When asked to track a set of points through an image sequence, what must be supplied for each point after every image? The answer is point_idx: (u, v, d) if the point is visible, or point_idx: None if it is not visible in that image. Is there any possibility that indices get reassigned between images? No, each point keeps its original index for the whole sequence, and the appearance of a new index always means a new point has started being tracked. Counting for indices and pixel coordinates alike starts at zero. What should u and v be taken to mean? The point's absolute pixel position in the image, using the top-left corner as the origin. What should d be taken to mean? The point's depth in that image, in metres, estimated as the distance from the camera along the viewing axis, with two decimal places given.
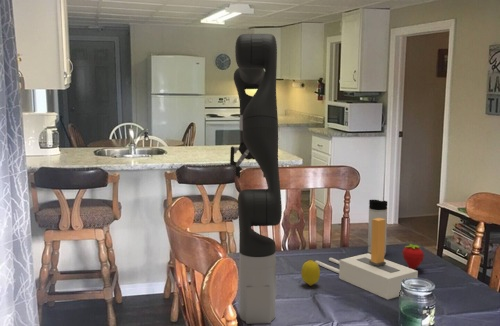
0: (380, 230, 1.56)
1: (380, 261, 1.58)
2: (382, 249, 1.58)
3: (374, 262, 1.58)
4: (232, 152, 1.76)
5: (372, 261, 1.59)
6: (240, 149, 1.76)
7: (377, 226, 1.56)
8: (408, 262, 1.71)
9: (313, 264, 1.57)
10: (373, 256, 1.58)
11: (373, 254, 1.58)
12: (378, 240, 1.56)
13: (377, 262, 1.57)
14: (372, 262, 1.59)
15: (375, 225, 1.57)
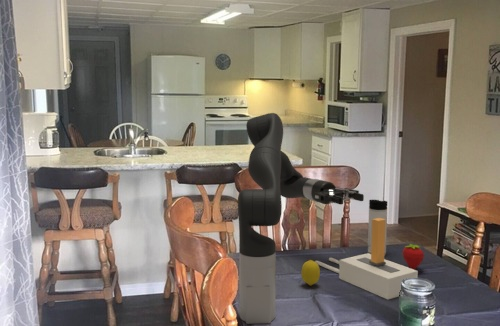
0: (380, 230, 1.56)
1: (380, 261, 1.58)
2: (382, 249, 1.58)
3: (374, 262, 1.58)
4: (319, 193, 1.70)
5: (372, 261, 1.59)
6: (323, 192, 1.72)
7: (377, 226, 1.56)
8: (408, 262, 1.71)
9: (313, 264, 1.57)
10: (373, 256, 1.58)
11: (373, 254, 1.58)
12: (378, 240, 1.56)
13: (377, 262, 1.57)
14: (372, 262, 1.59)
15: (375, 225, 1.57)
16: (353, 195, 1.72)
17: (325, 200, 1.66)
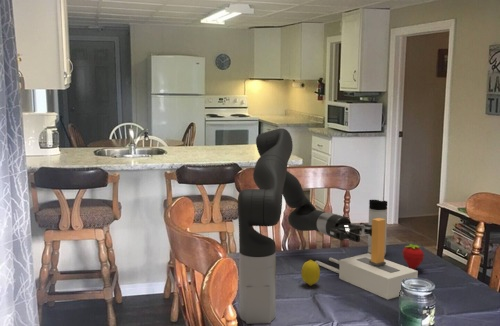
0: (380, 230, 1.56)
1: (380, 261, 1.58)
2: (382, 249, 1.58)
3: (374, 262, 1.58)
4: (334, 229, 1.65)
5: (372, 261, 1.59)
6: (339, 228, 1.67)
7: (377, 226, 1.56)
8: (408, 262, 1.71)
9: (313, 264, 1.57)
10: (373, 256, 1.58)
11: (373, 254, 1.58)
12: (378, 240, 1.56)
13: (377, 262, 1.57)
14: (372, 262, 1.59)
15: (375, 225, 1.57)
16: (369, 231, 1.66)
17: (341, 237, 1.61)
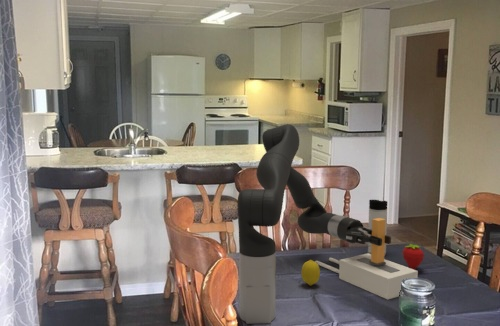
0: (380, 230, 1.56)
1: (380, 261, 1.58)
2: (382, 249, 1.58)
3: (374, 262, 1.58)
4: (352, 233, 1.60)
5: (372, 261, 1.59)
6: (352, 231, 1.62)
7: (377, 226, 1.56)
8: (408, 262, 1.71)
9: (313, 264, 1.57)
10: (373, 256, 1.58)
11: (373, 254, 1.58)
12: None
13: (377, 262, 1.57)
14: (372, 262, 1.59)
15: (375, 225, 1.57)
16: None
17: (363, 241, 1.57)
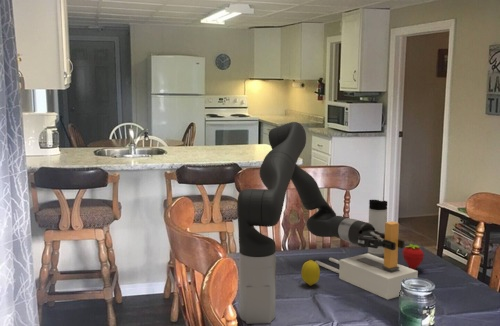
0: (393, 233, 1.52)
1: (393, 266, 1.54)
2: (396, 253, 1.54)
3: (387, 267, 1.54)
4: (364, 237, 1.55)
5: (385, 266, 1.54)
6: (364, 235, 1.58)
7: (390, 230, 1.52)
8: (408, 262, 1.71)
9: (313, 264, 1.57)
10: (386, 261, 1.54)
11: (385, 259, 1.54)
12: None
13: (390, 267, 1.53)
14: (384, 267, 1.54)
15: (388, 229, 1.52)
16: None
17: (376, 245, 1.53)
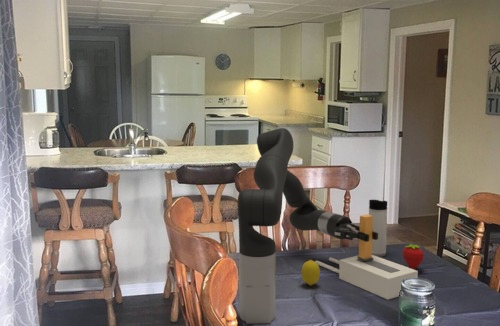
0: (368, 226, 1.61)
1: (368, 256, 1.62)
2: (370, 245, 1.62)
3: (362, 258, 1.62)
4: (340, 230, 1.64)
5: (360, 257, 1.63)
6: (340, 228, 1.67)
7: (365, 222, 1.60)
8: (408, 262, 1.71)
9: (313, 264, 1.57)
10: (361, 252, 1.62)
11: (360, 250, 1.63)
12: None
13: (365, 257, 1.62)
14: (359, 258, 1.63)
15: (363, 221, 1.61)
16: None
17: (351, 237, 1.62)
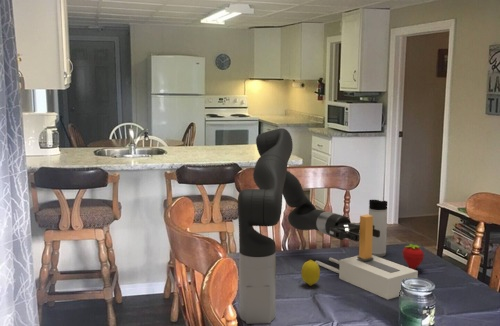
0: (368, 226, 1.61)
1: (368, 257, 1.62)
2: (370, 245, 1.62)
3: (362, 258, 1.62)
4: (334, 229, 1.65)
5: (360, 257, 1.63)
6: (338, 227, 1.67)
7: (365, 222, 1.60)
8: (408, 262, 1.71)
9: (313, 264, 1.57)
10: (361, 252, 1.62)
11: (360, 250, 1.63)
12: (365, 236, 1.61)
13: (365, 258, 1.62)
14: (360, 258, 1.63)
15: (363, 221, 1.61)
16: None
17: (340, 237, 1.62)
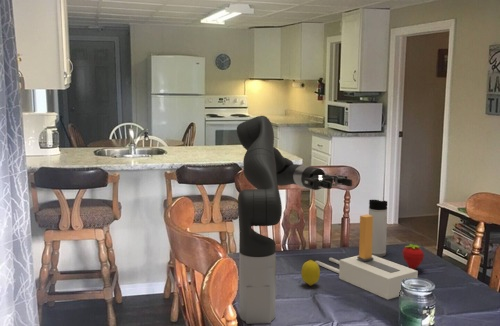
0: (368, 226, 1.61)
1: (368, 257, 1.62)
2: (370, 245, 1.62)
3: (362, 258, 1.62)
4: (308, 178, 1.74)
5: (360, 257, 1.63)
6: (313, 177, 1.76)
7: (365, 222, 1.60)
8: (408, 262, 1.71)
9: (313, 264, 1.57)
10: (361, 252, 1.62)
11: (360, 250, 1.63)
12: (365, 236, 1.61)
13: (365, 258, 1.62)
14: (360, 258, 1.63)
15: (363, 221, 1.61)
16: (342, 180, 1.75)
17: (314, 185, 1.70)
